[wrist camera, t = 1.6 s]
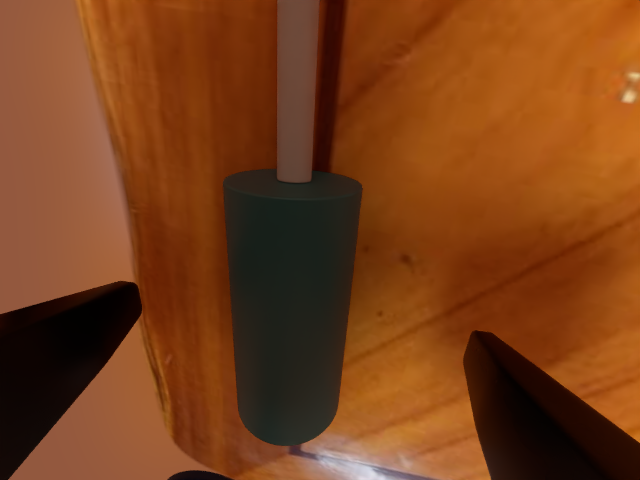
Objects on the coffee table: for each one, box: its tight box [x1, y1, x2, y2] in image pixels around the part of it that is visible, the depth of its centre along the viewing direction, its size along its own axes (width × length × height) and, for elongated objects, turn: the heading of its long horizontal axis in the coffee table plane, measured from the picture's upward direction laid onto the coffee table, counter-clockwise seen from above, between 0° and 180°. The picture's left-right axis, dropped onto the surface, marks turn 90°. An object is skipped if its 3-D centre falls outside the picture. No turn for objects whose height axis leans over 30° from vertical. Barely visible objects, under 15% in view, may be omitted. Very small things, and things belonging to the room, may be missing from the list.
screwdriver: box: [223, 0, 363, 446], centre depth 7 cm, size 14×3×3 cm, turn 177°
